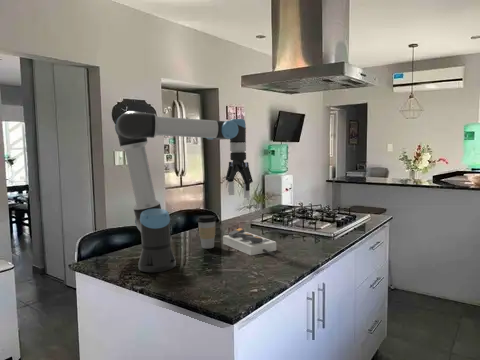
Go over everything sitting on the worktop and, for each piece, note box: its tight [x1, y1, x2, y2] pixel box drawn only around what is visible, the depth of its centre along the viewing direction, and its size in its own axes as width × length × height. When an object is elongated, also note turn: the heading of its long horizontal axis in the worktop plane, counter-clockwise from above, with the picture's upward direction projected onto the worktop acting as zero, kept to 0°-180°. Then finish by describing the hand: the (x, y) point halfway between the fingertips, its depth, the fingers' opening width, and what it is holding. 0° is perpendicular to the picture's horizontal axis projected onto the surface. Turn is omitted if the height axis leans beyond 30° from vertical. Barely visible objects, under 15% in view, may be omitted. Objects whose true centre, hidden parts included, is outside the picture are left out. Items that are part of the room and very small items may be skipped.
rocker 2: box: [236, 233, 253, 238], centre depth 187 cm, size 7×4×2 cm, turn 121°
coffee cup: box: [197, 214, 217, 250], centre depth 190 cm, size 9×9×15 cm
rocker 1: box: [227, 227, 246, 237], centre depth 194 cm, size 7×4×2 cm, turn 121°
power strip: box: [222, 231, 277, 256], centre depth 185 cm, size 14×34×5 cm, turn 31°
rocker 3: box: [245, 236, 263, 242], centre depth 180 cm, size 7×4×2 cm, turn 121°
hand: (238, 196), depth 187 cm, fingers open, 13 cm apart
